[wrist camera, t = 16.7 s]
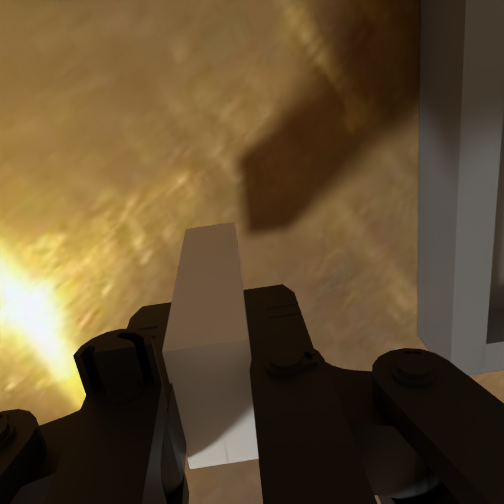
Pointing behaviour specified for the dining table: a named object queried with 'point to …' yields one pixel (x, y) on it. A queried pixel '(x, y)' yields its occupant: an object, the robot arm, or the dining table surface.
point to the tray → (462, 183)
